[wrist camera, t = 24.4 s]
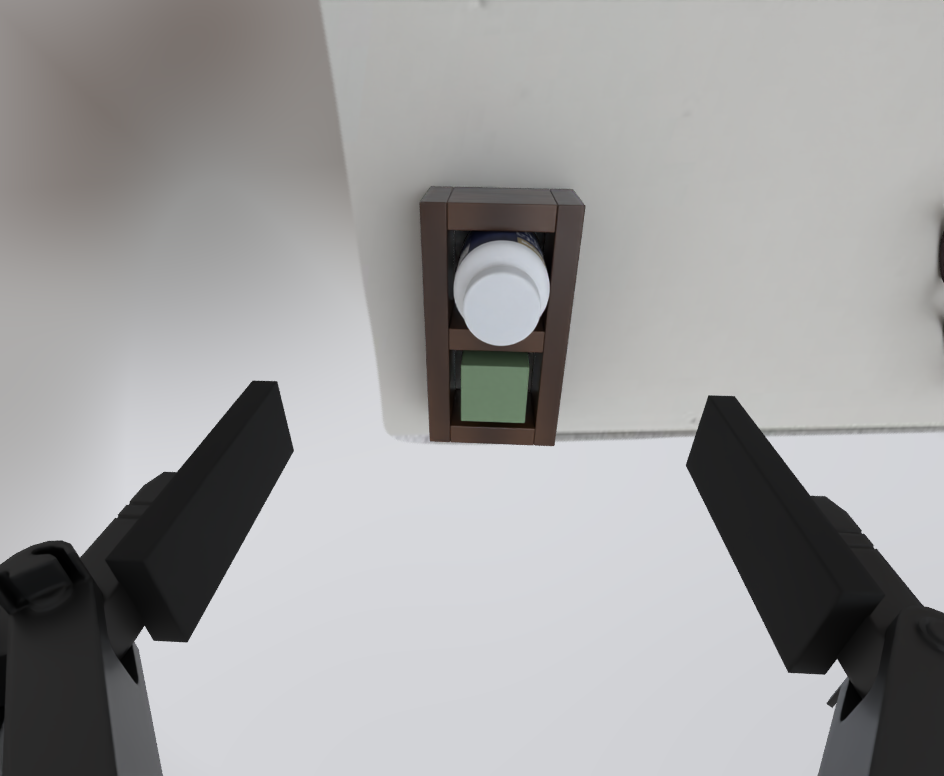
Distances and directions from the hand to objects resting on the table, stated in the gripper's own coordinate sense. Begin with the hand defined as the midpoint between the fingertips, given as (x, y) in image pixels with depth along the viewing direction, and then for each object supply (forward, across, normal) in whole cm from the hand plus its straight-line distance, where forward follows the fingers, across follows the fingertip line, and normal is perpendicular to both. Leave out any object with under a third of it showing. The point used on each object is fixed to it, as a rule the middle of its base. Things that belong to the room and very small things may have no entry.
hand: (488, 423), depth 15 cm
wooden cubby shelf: (+20, 0, -5) cm, 21 cm away
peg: (+20, 0, -8) cm, 22 cm away
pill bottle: (+20, +1, -1) cm, 20 cm away
